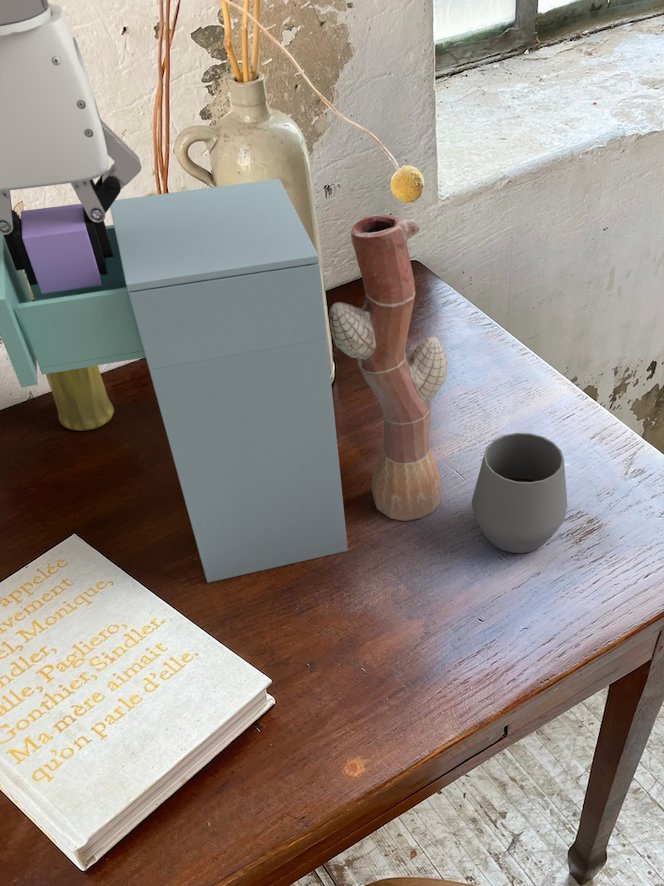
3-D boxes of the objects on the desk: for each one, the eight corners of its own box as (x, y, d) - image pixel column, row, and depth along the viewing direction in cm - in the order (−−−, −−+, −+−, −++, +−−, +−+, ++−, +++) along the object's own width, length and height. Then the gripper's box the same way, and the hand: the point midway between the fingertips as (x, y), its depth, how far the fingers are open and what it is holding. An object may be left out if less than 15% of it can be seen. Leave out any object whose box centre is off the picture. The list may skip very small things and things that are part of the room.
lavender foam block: (41, 294, 67) (21, 237, 64) (39, 266, 70) (20, 210, 67) (102, 285, 68) (86, 229, 65) (97, 258, 71) (81, 202, 68)
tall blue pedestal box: (207, 583, 87) (125, 284, 64) (186, 492, 96) (108, 200, 73) (347, 551, 90) (318, 255, 67) (315, 465, 99) (279, 178, 76)
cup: (468, 564, 89) (472, 487, 82) (471, 501, 96) (474, 424, 88) (564, 568, 89) (576, 492, 82) (561, 505, 95) (571, 428, 88)
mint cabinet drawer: (-51, 401, 66) (-93, 313, 61) (-47, 306, 75) (-83, 222, 69) (209, 356, 70) (191, 271, 65) (184, 272, 79) (166, 191, 74)
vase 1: (62, 436, 102) (19, 323, 91) (57, 406, 106) (15, 294, 95) (117, 425, 104) (82, 312, 93) (111, 395, 107) (75, 284, 97)
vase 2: (444, 474, 99) (447, 200, 76) (449, 519, 94) (454, 241, 71) (347, 478, 98) (321, 202, 76) (347, 524, 93) (320, 244, 71)
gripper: (115, -34, 60) (173, 234, 73) (-165, -15, 56) (-49, 264, 69) (127, -1, 55) (186, 278, 69) (-178, 22, 51) (-51, 313, 65)
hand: (67, 269), depth 69 cm, fingers closed on lavender foam block, 4 cm apart
